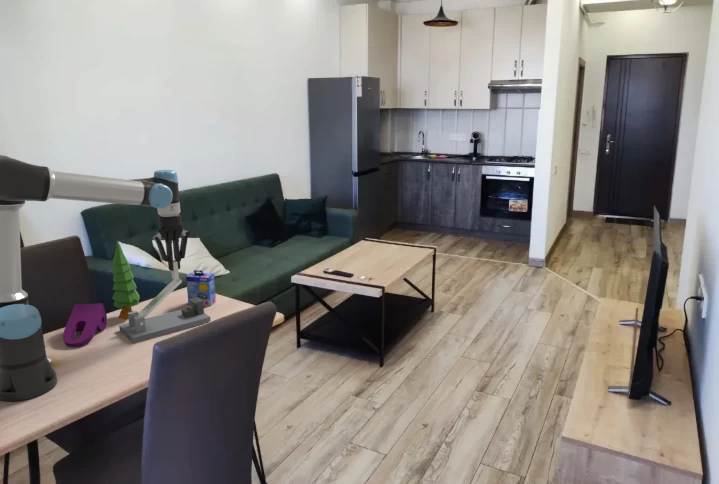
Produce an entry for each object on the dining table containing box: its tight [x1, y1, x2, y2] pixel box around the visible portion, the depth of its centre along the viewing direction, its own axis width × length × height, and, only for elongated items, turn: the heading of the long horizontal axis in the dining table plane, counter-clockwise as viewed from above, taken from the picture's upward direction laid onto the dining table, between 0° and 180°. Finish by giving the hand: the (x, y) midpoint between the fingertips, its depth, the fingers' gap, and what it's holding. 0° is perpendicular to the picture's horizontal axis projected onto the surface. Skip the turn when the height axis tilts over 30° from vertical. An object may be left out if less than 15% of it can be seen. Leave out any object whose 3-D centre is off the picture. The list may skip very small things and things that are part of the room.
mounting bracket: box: [61, 302, 108, 348], centre depth 188 cm, size 10×8×18 cm
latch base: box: [118, 298, 212, 344], centre depth 196 cm, size 28×14×7 cm, turn 131°
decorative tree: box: [111, 239, 140, 321], centre depth 201 cm, size 10×9×30 cm
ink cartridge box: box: [185, 269, 217, 306], centre depth 217 cm, size 10×6×14 cm, turn 82°
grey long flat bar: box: [132, 278, 183, 321], centre depth 192 cm, size 21×4×2 cm
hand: (175, 278), depth 195 cm, fingers closed
